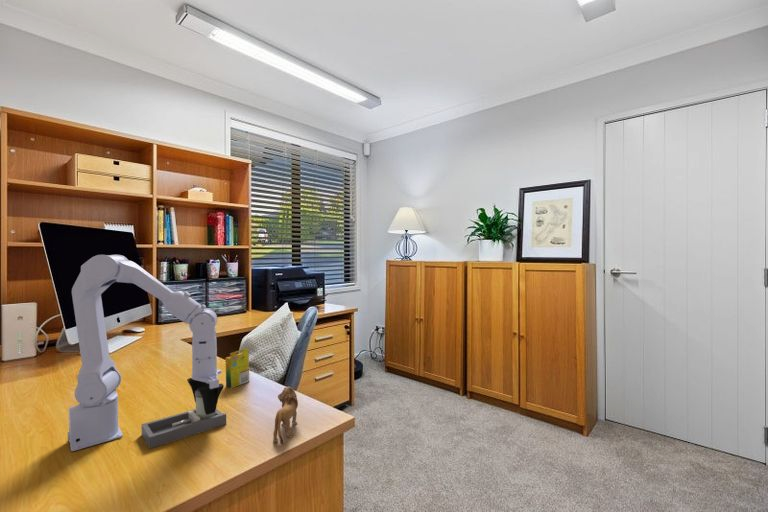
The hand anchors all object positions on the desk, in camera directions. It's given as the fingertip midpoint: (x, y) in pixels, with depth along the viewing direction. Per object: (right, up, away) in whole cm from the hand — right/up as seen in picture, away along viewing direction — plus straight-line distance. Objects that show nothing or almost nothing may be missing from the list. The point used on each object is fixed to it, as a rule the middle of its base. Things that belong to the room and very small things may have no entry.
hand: (205, 408), depth 95 cm
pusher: (-4, -3, -3) cm, 6 cm away
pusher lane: (-3, -4, -3) cm, 6 cm away
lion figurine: (+22, -4, -4) cm, 22 cm away
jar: (0, -3, 0) cm, 3 cm away
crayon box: (-3, -4, +28) cm, 28 cm away
